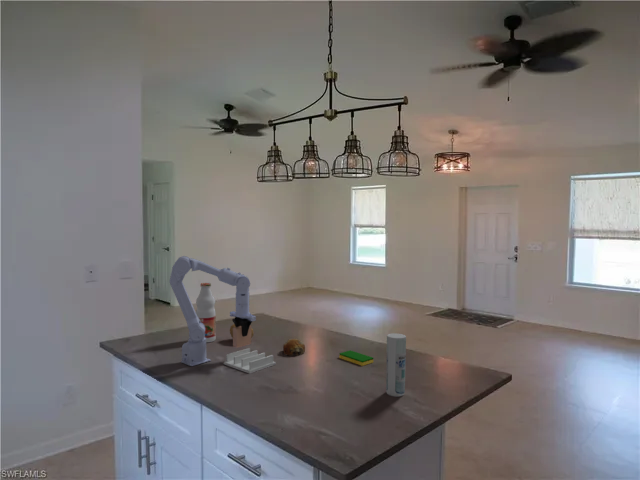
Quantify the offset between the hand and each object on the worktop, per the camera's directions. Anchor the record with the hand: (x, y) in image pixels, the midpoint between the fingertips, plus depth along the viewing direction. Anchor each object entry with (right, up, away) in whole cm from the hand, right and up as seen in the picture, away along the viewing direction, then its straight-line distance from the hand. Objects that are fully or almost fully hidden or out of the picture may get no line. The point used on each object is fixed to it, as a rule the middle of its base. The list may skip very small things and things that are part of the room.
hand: (242, 335), depth 186 cm
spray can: (+59, -12, -35) cm, 70 cm away
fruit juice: (-23, -9, +28) cm, 37 cm away
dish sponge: (+48, -11, 0) cm, 50 cm away
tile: (0, -4, 0) cm, 4 cm away
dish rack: (+4, -10, -7) cm, 13 cm away
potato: (-5, -9, +27) cm, 29 cm away
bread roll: (+21, -10, +9) cm, 25 cm away
